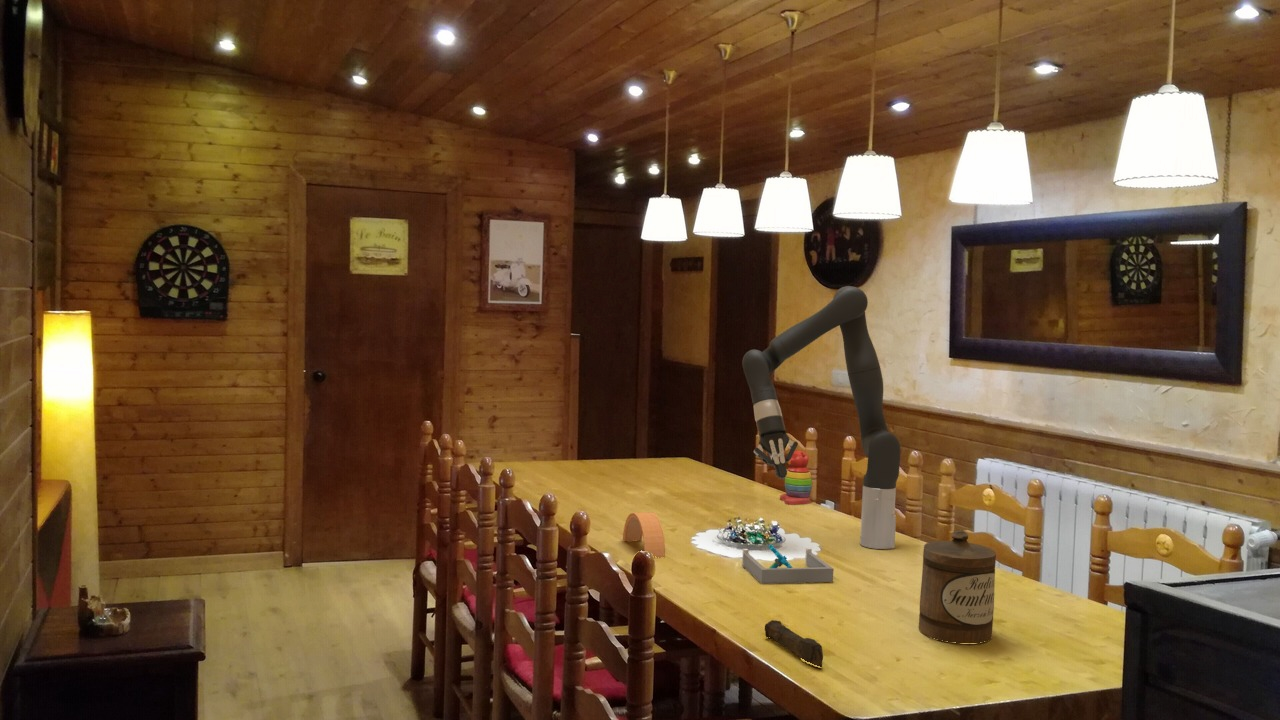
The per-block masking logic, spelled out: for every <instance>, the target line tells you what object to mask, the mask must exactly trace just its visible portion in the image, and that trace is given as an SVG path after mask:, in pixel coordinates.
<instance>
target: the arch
mask: <svg viewBox="0 0 1280 720" xmlns="http://www.w3.org/2000/svg"><path fill="white" fill-rule="evenodd" d="M623 540H624V541H628V542H636V541H635V540H642V541H643V547H644V550H643V551H648V552H650V553H652V554H653V556H654V558H653V559H662V558H661V557H665V558H666V543H665V536H664V530H663V527H662V524H661V521H660V519H659V517H658V515H656V514H655V513H654V512H631V513H629V514H628V516H627V517H626V519H625V523H624V527H623V533H622V541H623ZM633 540H634V541H633ZM624 541H623V542H624ZM655 556H656V557H657V558H655ZM658 557H659V558H658Z"/></svg>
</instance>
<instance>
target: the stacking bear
mask: <svg viewBox="0 0 1280 720" xmlns="http://www.w3.org/2000/svg"><path fill="white" fill-rule="evenodd" d="M787 464H788V466H789V467H788V468H787V470H786V471H787V475H786V477H785V478H784V488H785V493H783V494H780V496H779V500H780V501H784V504H786V505H791V506H792V505H793V506H794V505H795V506H796V505H800V506H801V505H808V504H810V503H811V502H812V500H811V497H810V495H811V492H812V489H813V488H812V487H813V480H812V473H811V471H810V469H809V468H808V467H807V466H808V465H809V455H808V453H806V452H805V451H802V450H798V449H795V451H794V453H793V455H792V457H791V459H790V460H789V462H787Z"/></svg>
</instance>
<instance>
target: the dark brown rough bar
mask: <svg viewBox="0 0 1280 720" xmlns="http://www.w3.org/2000/svg"><path fill="white" fill-rule="evenodd" d="M764 631H765V633H764V634H765V637H766V638H767V637H770V638H769V639H773V640H772V641H775V642H776V641H777V642H776V643H778V644H779V645H781V646H783V647H784V648H786V649H787V650H789V651H790V650H791V651H790V652H791V653H794V654H795V655H796V656H798V657H799V659H800V658H802V659H804V660H805V661H807V662H810V663H812V664H814V665H817V666H820V667H823V660H824V653H823V646H822V645H821V644H820V643H819V642H817V641H816V640H815V639H813V638H809V637H805V638H804V637H802V636H801V635H799V634H797V633H796V632H794V631H792V630H791V629H790V628H788V627H786V626H785V625H784V624H782V621H780V620H774V619H773V620H770V621H768V622H767V623H765V624H764Z"/></svg>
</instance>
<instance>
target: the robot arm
mask: <svg viewBox="0 0 1280 720" xmlns="http://www.w3.org/2000/svg"><path fill="white" fill-rule="evenodd" d="M868 301H869V299H868V297H867V295H866V293H865V292H864V291H863V290H862V289H860V288H859V287H857V286H856V287H855V286H851V285H845V286H842V287H840V288H839V289H838V290H836V292H835V293H834V296H833V298H832V300H831V301H829V302H828V303H827V304H826V305H825V306H824V307H823V308H821V309H820V310H819V311H817V312H816V313H814V314H812V315H811V316H808V317H807V318H805V319H803V320H802V321H800V322H798V323H796V324H794V325H793V326H791V327H789V328H788V329H785V330H784V331H783V332H781V333H780V334H778V335H777V336H775V337H774V338H773V339H772V340H771V341H770V342H769V346H768V347H767V348H766V349H764V350H762V351H761V350H759V349H750V350H748V351H747V352H746V353H745V354H744V355H743V357H742V363H741V364H742V368H743V369H742V370H743V373H744V376H745V380H746V382H747V385H748V387H749V390H750V397H751V401H752V402H751V403H752V406H753V413H754V414H753V415H754V421H755V424H756V428H757V432H758V438H759V440H758V446H757V447H755V448H754V450H753V454H754V455H755V456H756V457H758V459H760V460H761V461H762V462H764V464H766V465H767V466H771V467H772V466H773V469H774V473H775V476H776V478H778V479H779V480H785V478H786V475H787V471H788V470H787V466H786V464H788V462H789V460H790V459H791V457H792V455H793V453H794V452H795V451H796V450H797V449H796V448H797V447H798V445H799V443H798V441H793V440H791V439H790V437H789V436H788V434H787V430H786V427H785V422H784V417H783V413H782V408H781V406H780V404H779V400H778V396H777V392H776V388H775V386H774V385H775V384H773V382H772V379H771V376H770V375H771V374H772V373H773V372H775V371H776V370H777V369H778V368H779V367H780V366H781V365H782V364H783V363H784V362H785V361H786V360H787V359H789V358H791V357H792V356H794V355H796V354H797V353H798V352H800V351H802V350H803V349H805V348H806V347H807V346H809V345H811V344H812V343H813V342H814V341H816V340H818V339H819V338H820V337H822V336H823V335H825V334H826V333H828V332H830V331H832V330H833V329H836V328H837V327H839V329H840V331H841V336H842V341H843V351H844V359H845V365H846V372H847V377H848V380H849V386H850V389H851V393H852V396H853V397H852V398H853V402H854V405H855V408H856V412H857V415H858V416H857V417H858V422H859V433H860V441H861V449H862V451H863V453H864V455H865V456H866V457H867V467H866V472H865V474H864V475H863V478H862V493H861V494H862V496H861V497H862V499H861V515H860V516H861V518H860V519H861V520H860V538H859V540H860V541H859V543H860V546H862V547H865V548H869V549H876V550H889V549H894V550H895V547H896V546H895V544H896V524H897V515H896V514H895V513H896V511H895V510H896V495H897V494H896V493H897V481H898V480H899V479H898V478H899V476H900V465H901V453H902V452H901V450H902V449H901V443H900V440H899V438H898V437H897V436H896V435H895V434H893V433H892V432H890V431H889V429H888V426H887V423H886V419H885V416H884V415H885V414H884V407H883V402H884V401H883V400H884V379H883V374H882V370H881V369H882V368H881V365H880V362H879V357H878V355H877V352H876V349H875V345H874V344H873V342H872V339H871V337H870V334H869V330H868V325H867V318H866V310H867V308H868V305H869V304H868V303H869V302H868ZM787 446H788V447H787ZM787 448H788V449H789V450H788V452H787V454H786V457H785V450H786V449H787ZM764 451H765V452H766V453H767V454H766V453H765V452H764ZM768 455H769V456H768Z"/></svg>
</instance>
